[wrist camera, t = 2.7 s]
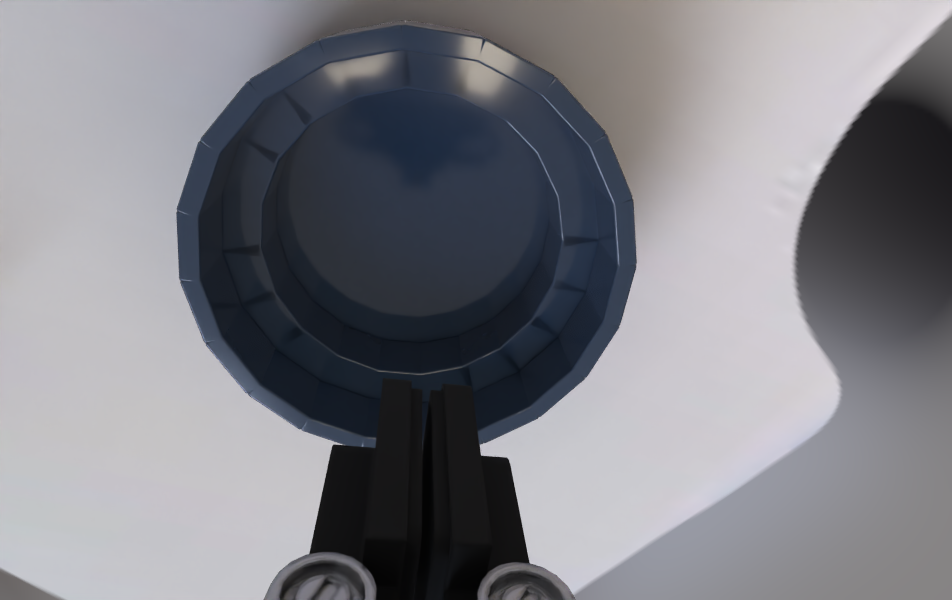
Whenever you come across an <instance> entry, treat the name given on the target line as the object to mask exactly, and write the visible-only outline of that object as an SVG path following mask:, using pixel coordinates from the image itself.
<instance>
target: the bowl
mask: <svg viewBox="0 0 952 600" xmlns="http://www.w3.org/2000/svg"><path fill="white" fill-rule="evenodd" d="M176 214H177V237H178V259H179V279H180V280H181V282H180V283H181V286H182V288H183V290H184V293H185V295H186V298H187V300H188V303H189V305H190V308H191V310H192V313H193V315H194V318H195V320H196V323H197V325H198V328H199V330H200V333H201V335H202V338H203V340H204V342H205V343H206V346H207V347H208V348H209V349H210V351H211V352H212V353H213V354H214V355H215V357H216V358H217V359H218V360H219V361H220V363H221V364H222V365H223V366H224V367H225V369H226V370H227V371H228V372H229V373H230V375H231V376H232V377H233V378H234V379H235V381H236V382H237V383H238V384H239V385H240V387H241V388H242V389H243V390H244V391H245V393H248V395H249V396H250V397H252V398H253V399H255V400H256V401H258V402H259V403H261V404H262V405H264V406H265V407H267V408H268V409H270V410H271V411H273V412H274V413H276V414H277V415H279V416H280V417H282V418H283V419H285V420H286V421H288V422H289V423H291V424H292V425H294V426H295V427H297V428H298V429H301V430H302V431H305V432H308V433H310V434H313V435H316V436H319V437H322V438H325V439H328V440H331V441H334V442H337V443H340V444H343V445H346V446H359V447H372V448H375V446H376V437H377V428H378V419H379V410H380V401H381V392H382V383H383V378H389V379H400V380H411V381H412V388H415V389H422V445H423V438H424V431H425V425H426V418H427V411H428V404H429V397H430V392H431V390H437V391H441V388H442V384H443V383H444V384H455V385H466V386H471V387H472V392H473V400H474V408H475V415H476V423H477V430H478V438H479V445H480V444H483V443H487V442H489V441H491V440H493V439H495V438H497V437H500V436H502V435H504V434H506V433H508V432H510V431H512V430H514V429H517V428H519V427H521V426H523V425H525V424H527V423H529V422H532V421H534V420H536V419H538V417H541V416H542V415H543V414H544V413H545V412H547V411H548V410H549V409H550V408H551V407H553V406H554V405H555V404H556V403H557V402H558V401H560V400H561V399H562V398H563V397H564V396H565V395H567V394H568V393H569V392H570V391H571V390H572V389H574V388H575V387H576V386H577V385H578V384H580V383H581V382H582V381H583V380H584V379H585V378H586V377H587V376H588V374H589V373H590V371H591V370H592V368H593V367H594V365H595V364H596V362H597V361H598V359H599V358H600V356H601V354H602V353H603V351H604V350H605V348H606V347H607V345H608V344H609V342H610V341H611V339H612V338H613V336H614V335H615V333H616V332H617V330H618V328H619V326H620V323H621V320H622V316H623V313H624V309H625V306H626V302H627V298H628V295H629V291H630V288H631V284H632V280H633V277H634V273H635V270H636V263H637V259H636V240H635V222H634V203H633V199H632V194H631V191H630V189H629V187H628V184H627V182H626V179H625V177H624V175H623V172H622V170H621V167H620V165H619V162H618V160H617V158H616V155H615V153H614V150H613V148H612V145H611V143H610V141H609V138H608V136H607V134H605V131H604V130H603V128H602V127H601V126H600V125H599V124H598V123H597V122H596V121H595V120H594V118H593V117H592V116H591V115H590V114H589V113H588V112H587V111H586V110H585V108H584V107H583V106H582V105H581V104H580V103H579V102H578V101H577V99H576V98H575V97H574V96H573V95H572V94H571V93H570V92H569V91H568V89H567V88H566V87H565V86H564V85H563V84H562V83H561V82H560V81H559V79H558V78H556V77H555V76H554V75H553V74H551V73H549V72H547V71H545V70H543V69H542V68H540V67H538V66H536V65H534V64H532V63H531V62H529V61H527V60H525V59H523V58H521V57H520V56H518V55H516V54H514V53H512V52H510V51H509V50H507V49H505V48H503V47H501V46H499V45H498V44H496V43H494V42H492V41H490V40H488V39H487V38H485V37H483V36H481V35H479V34H477V33H475V32H473V31H470V30H466V29H460V28H454V27H447V26H441V25H435V24H429V23H423V22H417V21H411V20H407V21H406V22H405V21H404V20H400V21H395V22H389V23H384V24H378V25H372V26H367V27H361V28H356V29H350V30H345V31H341V32H338V33H335V34H332V35H329V36H327V37H324V38H321V39H318V40H316V41H314V42H312V43H311V44H309V45H307V46H306V47H304V48H302V49H300V50H299V51H297V52H295V53H294V54H292V55H290V56H288V57H287V58H285V59H283V60H282V61H280V62H278V63H276V64H275V65H273V66H271V67H270V68H268V69H266V70H264V71H263V72H261V73H259V74H258V75H256V76H254V77H252V78H251V79H250V80H249V81H248V82H246V83H245V85H244V86H243V87H242V88H241V89H240V91H239V92H238V93H237V94H236V96H235V97H234V98H233V99H232V101H231V102H230V103H229V104H228V105H227V107H226V108H225V109H224V110H223V112H222V113H221V114H220V115H219V117H218V118H217V119H216V120H215V122H214V123H213V124H212V125H211V126H210V128H209V129H208V130H207V131H206V133H205V134H204V135H203V136H202V138H201V140H200V141H199V142H198V145H197V148H196V151H195V154H194V157H193V160H192V163H191V167H190V170H189V173H188V176H187V179H186V182H185V185H184V188H183V191H182V194H181V197H180V200H179V203H178V206H177V213H176Z"/></svg>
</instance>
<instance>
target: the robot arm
mask: <svg viewBox="0 0 952 600" xmlns="http://www.w3.org/2000/svg"><path fill="white" fill-rule="evenodd" d="M264 600H575V598H574V596H573V594H572V593H571V591H570V589H569V588H568V586H567V585H566V584H565V583H564V582H563V581H562V580H561V579H560V578H559V577H558V576H557V575H555V574H553V573H552V572H550V571H548V570H546V569H545V568H543V567H540V566H536V565H533V564H530V563H529V558H528V553H527V548H526V543H525V538H524V533H523V528H522V523H521V517H520V512H519V507H518V502H517V497H516V492H515V487H514V482H513V476H512V471H511V466H510V463H509V460H508V459H507V458H504V457H491V456H481V453H480V445H479V438H478V430H477V423H476V415H475V408H474V400H473V392H472V387H471V386H466V385H455V384H444V383H443V384H442V388H441V391H437V390H431V392H430V397H429V404H428V411H427V418H426V425H425V431H424V438H423V445H422V389H415V388H412V381H411V380H400V379H389V378H383V383H382V392H381V401H380V410H379V419H378V428H377V437H376V446H375V448H372V447H359V446H346V445H333V446H332V450H331V454H330V459H329V464H328V469H327V473H326V478H325V483H324V488H323V492H322V497H321V502H320V506H319V511H318V516H317V521H316V525H315V530H314V535H313V540H312V544H311V549H310V554H308V555H305V556H303V557H300V558H298V559H296V560H294V561H292V562H290V563H289V564H288V565H287V566H285V567H284V568H283V569H282V570H280V571H279V573H278V574H277V576H276V577H275V578H274V580H273V581H272V583H271V585H270V587H269V589H268V591H267V593H266V595H265V598H264Z"/></svg>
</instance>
